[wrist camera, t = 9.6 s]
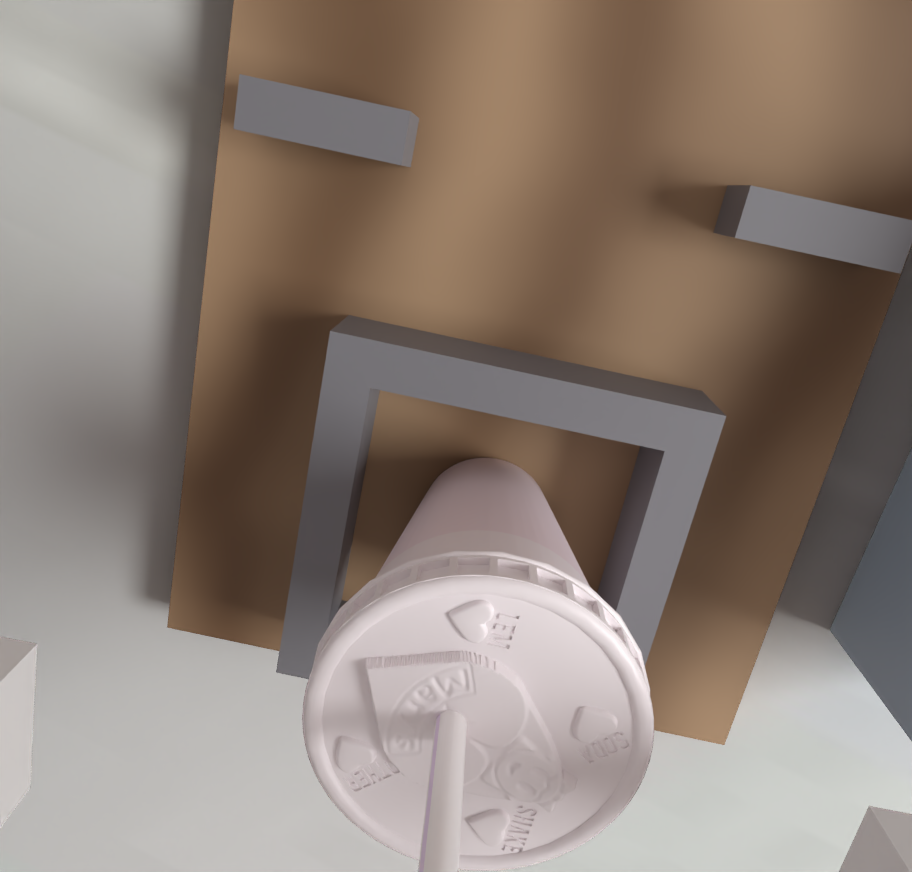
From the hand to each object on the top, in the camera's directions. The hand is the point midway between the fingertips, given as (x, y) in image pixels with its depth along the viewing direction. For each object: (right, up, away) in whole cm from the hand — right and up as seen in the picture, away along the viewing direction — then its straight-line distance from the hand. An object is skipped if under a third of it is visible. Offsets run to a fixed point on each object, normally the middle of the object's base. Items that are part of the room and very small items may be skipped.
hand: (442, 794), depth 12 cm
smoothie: (+1, +3, +11) cm, 12 cm away
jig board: (+3, +11, +9) cm, 15 cm away
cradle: (+1, +3, +11) cm, 11 cm away
